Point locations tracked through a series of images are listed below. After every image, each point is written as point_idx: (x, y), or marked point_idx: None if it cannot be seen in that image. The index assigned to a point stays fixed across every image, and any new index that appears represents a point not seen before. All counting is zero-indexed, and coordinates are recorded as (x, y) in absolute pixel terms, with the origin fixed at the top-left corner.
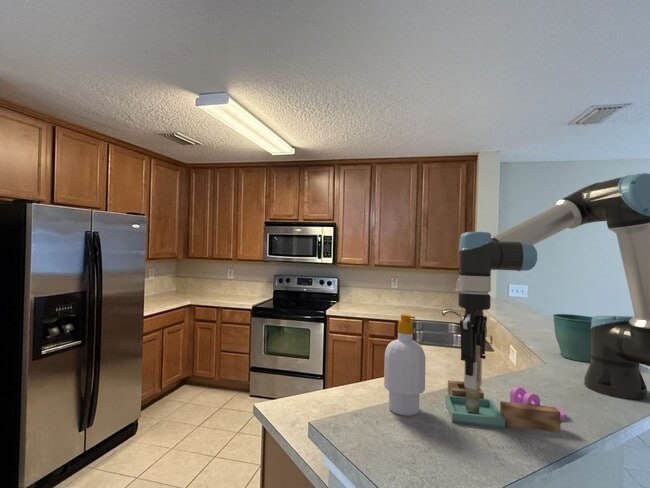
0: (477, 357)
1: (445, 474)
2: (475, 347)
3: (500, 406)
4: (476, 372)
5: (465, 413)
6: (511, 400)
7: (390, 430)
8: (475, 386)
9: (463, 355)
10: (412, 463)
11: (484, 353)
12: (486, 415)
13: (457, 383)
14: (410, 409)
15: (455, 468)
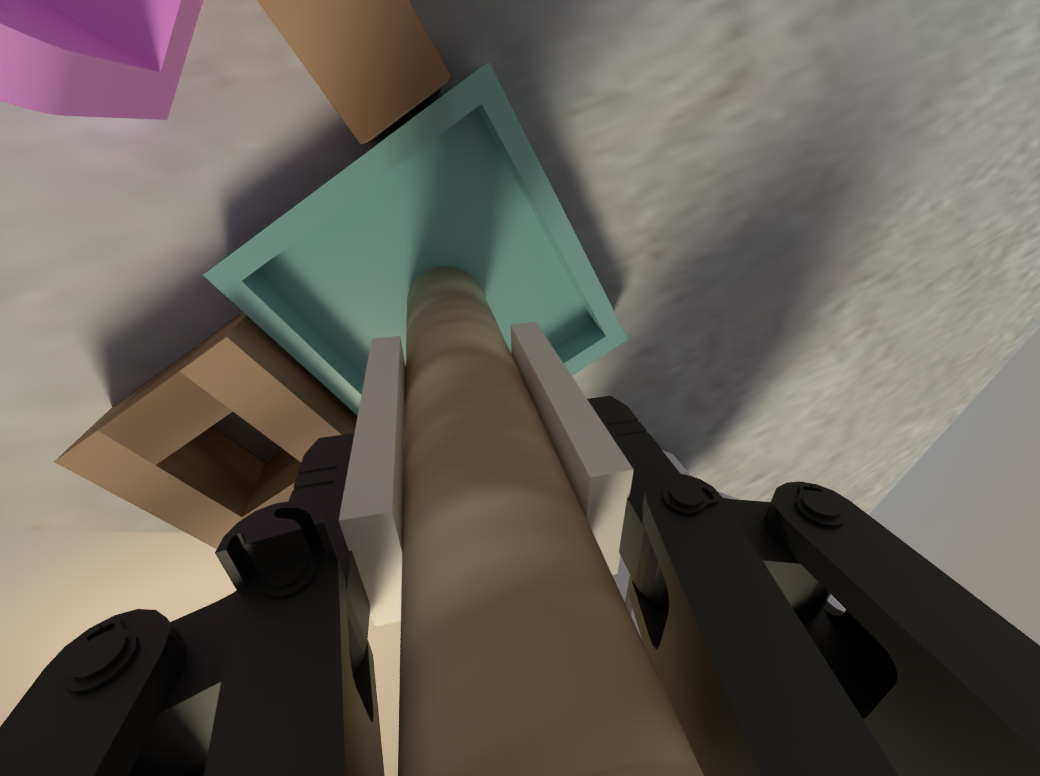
0: (575, 538)
1: (1019, 146)
2: (802, 747)
3: (373, 136)
4: (552, 397)
5: (587, 293)
6: (109, 99)
7: (796, 421)
8: (541, 332)
9: (817, 615)
10: (973, 264)
11: (107, 631)
12: (416, 224)
13: (234, 515)
14: (676, 463)
15: (976, 133)
